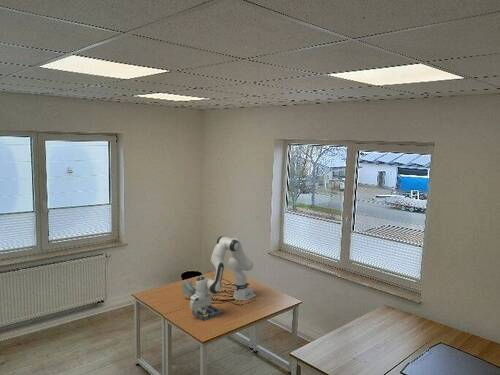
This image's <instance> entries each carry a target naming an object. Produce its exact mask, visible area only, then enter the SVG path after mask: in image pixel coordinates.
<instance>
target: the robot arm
mask: <svg viewBox="0 0 500 375" xmlns="http://www.w3.org/2000/svg"><path fill="white" fill-rule="evenodd" d="M226 251H230V253H231V256H232V257H230V258H229V259H228V262H227V265H228V267H229V268H230V269H231V271H232V273H233V275H234V285H233V286H234V287H233V288H234V291H233V297H234V298H235V299H234V298H233V297H232V298H233V299H234V300H236V301H245V302H246V301H249V300H250V299H252V298H255V297H256V293H254V290H253V289H252V288H251V287H250V283H249V282H247V275H246V273H244V272H248V271H252V270H253V268H254V262H253V260H251V259H250V258H248V256H247V255H246V254H245V252H244V250H243V246H242V243H241V241H240V239H239V238H238V237H233V238H231V237H228V236H225V235H222V236H219V237H218V238H217V239H216V245H215V246H214V248H213V251H212V253H211V256H210V262H211V264H212V265H213V266H214V268H215V277H214V279H212V278H208V277H204V276H199V277H197V278H196V280H195V287H196V289H195V290H196V294H194V295H193V296H189V297H190V300H189V308H190V310H195V312H196V313H198V311H197V310H196V309H197V308H199V307H205V308H204V309H206V308H207V306H208V305H212V303H213V302H212V301H213V300H212V294H213V295H214V294H217V293H219V292H220V291H221V289H222V280H223V275H224V268H225V267H224V266H225V265H224V259H225V256H226ZM243 271H244V272H243ZM206 290H208V292H210V293H208V294H206ZM211 293H212V294H211Z"/></svg>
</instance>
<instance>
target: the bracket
mask: <svg viewBox="0 0 500 375" xmlns="http://www.w3.org/2000/svg"><path fill="white" fill-rule="evenodd" d="M181 285H182V290H181V291H182V293H181V294H182V295H183V296H187V297H191V296H193V295H194V294H196V286H194V284H193V281H192V280H190V281H188V280H186V281H184V282H182V284H181ZM206 294H209V291H208V290H206Z"/></svg>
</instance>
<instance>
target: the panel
mask: <svg viewBox="0 0 500 375" xmlns="http://www.w3.org/2000/svg"><path fill="white" fill-rule="evenodd" d="M203 307H204V306H203ZM203 307H199V308H197V309H196V310H197V311H198V313H200V314H201V315H203V316H204V315H206V309H204V308H203Z"/></svg>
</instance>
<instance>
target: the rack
mask: <svg viewBox="0 0 500 375" xmlns="http://www.w3.org/2000/svg"><path fill="white" fill-rule="evenodd" d="M203 308H205V306H203ZM191 310H192V309H191ZM192 315H193V316H195V317H196V318H197V319H199V320H200V321H201V322H205V321H207V320H210V319H213V318H216V317H219V316H222V310H221V309H219V308H218V307H215V306H214V305H212V304H209V305H208V306H207V308H206V315H204V316H203V315H201V314H200V313H196V312H195V309H193V310H192Z"/></svg>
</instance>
